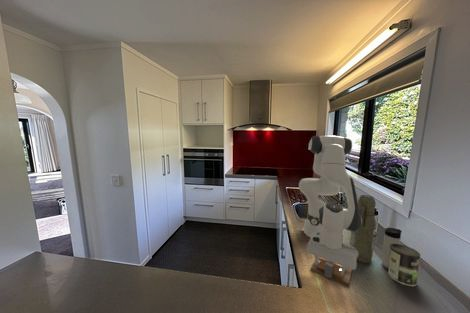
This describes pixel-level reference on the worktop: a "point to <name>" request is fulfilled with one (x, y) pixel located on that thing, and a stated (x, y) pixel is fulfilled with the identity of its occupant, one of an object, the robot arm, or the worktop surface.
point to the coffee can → (403, 264)
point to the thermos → (365, 229)
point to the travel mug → (390, 238)
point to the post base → (344, 280)
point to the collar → (330, 268)
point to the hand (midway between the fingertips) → (329, 269)
